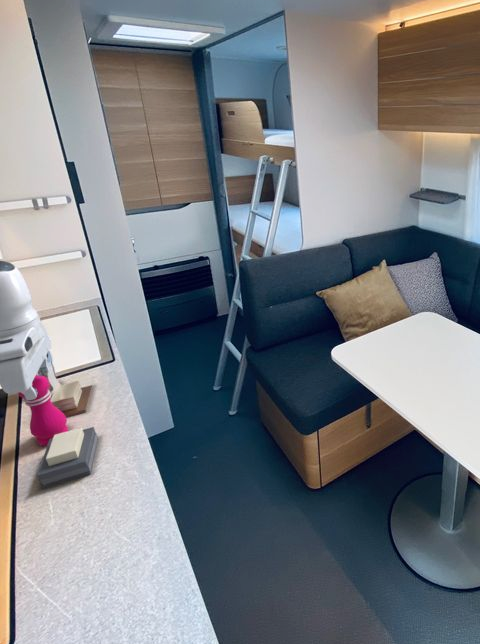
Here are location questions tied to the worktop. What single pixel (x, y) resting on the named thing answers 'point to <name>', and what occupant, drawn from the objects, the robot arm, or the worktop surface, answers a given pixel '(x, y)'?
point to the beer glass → (51, 373)
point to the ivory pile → (71, 398)
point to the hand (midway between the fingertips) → (38, 385)
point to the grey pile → (70, 463)
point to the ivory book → (65, 446)
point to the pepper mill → (44, 413)
